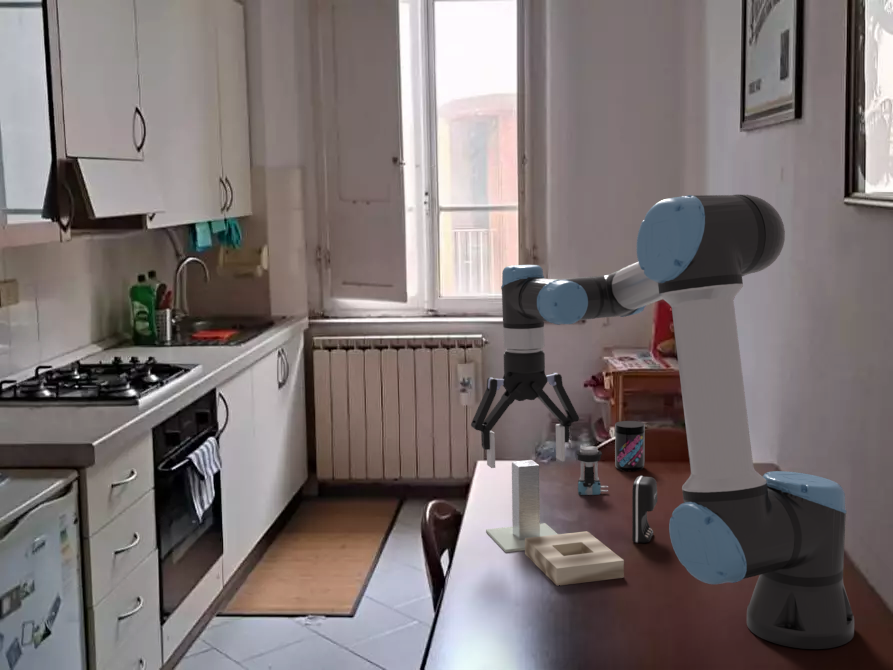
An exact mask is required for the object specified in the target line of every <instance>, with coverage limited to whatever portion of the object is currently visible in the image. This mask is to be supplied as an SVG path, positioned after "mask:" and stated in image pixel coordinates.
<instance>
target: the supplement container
mask: <svg viewBox="0 0 893 670" xmlns="http://www.w3.org/2000/svg"><path fill="white" fill-rule="evenodd" d="M645 429H646V426H645V423H644V422H642V421H638V420H637V421H635V420H623V421H621V420H620V421H617V422H615V425H614V432H615V434H614V435H615V436H614V437H615V438H614V439H615V442H614V443H615V444H614V448H615V449H614V451H615V452H614V453H615V454H614V455H615V456H614V457H615V458H614V460H615V462H614V464H615V466H614V467H616V469H617V470H619V471H623V472H637V471H641V470H643V469H644V467H645V431H646V430H645Z"/></svg>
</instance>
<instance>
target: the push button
mask: <svg viewBox="0 0 893 670" xmlns="http://www.w3.org/2000/svg"><path fill="white" fill-rule="evenodd" d="M602 455H603V453H602V451H601V450H598V447H597V446H596V445H595V446H593V445H584V446H583V445H582V446H581V447H580V449H579V450H577V451H576V456H577V460H578V461H579V462H580V477H579V479H578V480H577V493H578V495H582V496H585V495H586V496H588V495H589V496H591V495H592V496H594V495H596V496H597V495H601V492H603V493H604V492H607V493H608V492H609V490H608V489H601V488H609V486H608V485H601V481H600V478H599V475H598V466H599V465H598V462H599V461H601V456H602Z"/></svg>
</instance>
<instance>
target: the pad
mask: <svg viewBox="0 0 893 670" xmlns="http://www.w3.org/2000/svg"><path fill="white" fill-rule="evenodd" d="M485 532H486V534H487V535H488V536H489V537H490V538H491V539H492V540H493V541H494V542H495V543H496V544H497V545H498V546H499V547H500V548H501V549H502V550H503V551H504V552H505V553H511V552H520V551H525V540H519V539H518V538H517V537H515V536H514V535H513V526H505V527H498V528H488V529H485ZM558 534H559V533H557V532H556V531H555V530H554V529H553V528H551V526H549V525H548V524H547V523H546V522H543V523H540V536H549V535H558Z"/></svg>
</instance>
